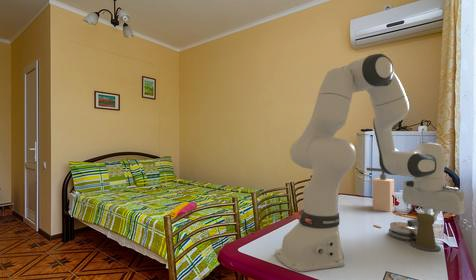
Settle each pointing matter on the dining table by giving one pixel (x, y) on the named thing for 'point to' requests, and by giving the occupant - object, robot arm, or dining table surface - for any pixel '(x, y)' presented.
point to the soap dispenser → (382, 191)
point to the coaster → (413, 243)
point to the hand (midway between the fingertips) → (431, 219)
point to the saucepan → (405, 227)
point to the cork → (425, 231)
